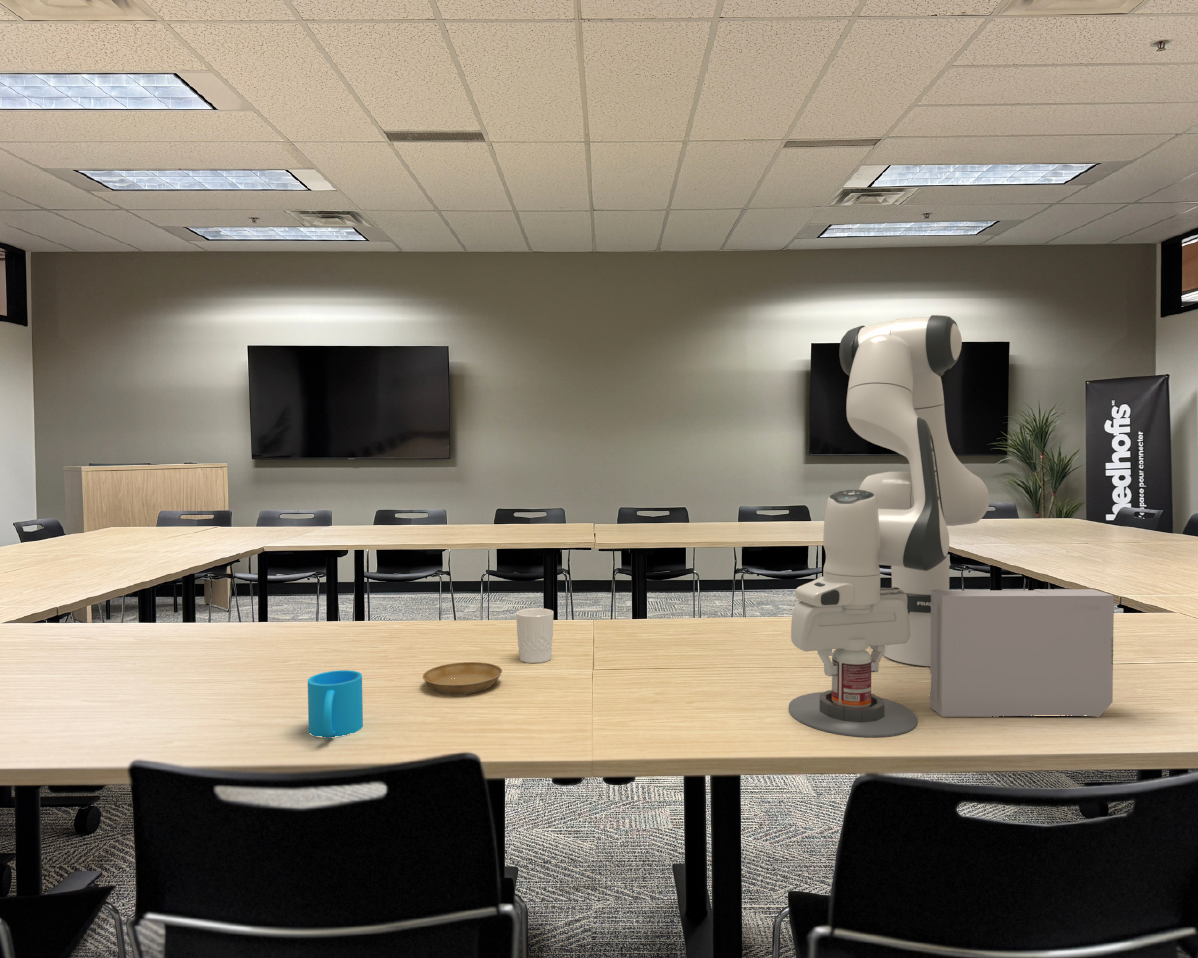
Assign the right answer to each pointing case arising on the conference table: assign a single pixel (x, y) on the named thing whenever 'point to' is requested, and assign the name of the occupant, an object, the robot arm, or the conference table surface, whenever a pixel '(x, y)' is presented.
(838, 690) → the pill bottle
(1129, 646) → the conference table surface
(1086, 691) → the game console
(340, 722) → the mug
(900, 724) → the round tray
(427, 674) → the plant saucer
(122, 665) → the conference table surface
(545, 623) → the white cup
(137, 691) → the conference table surface
